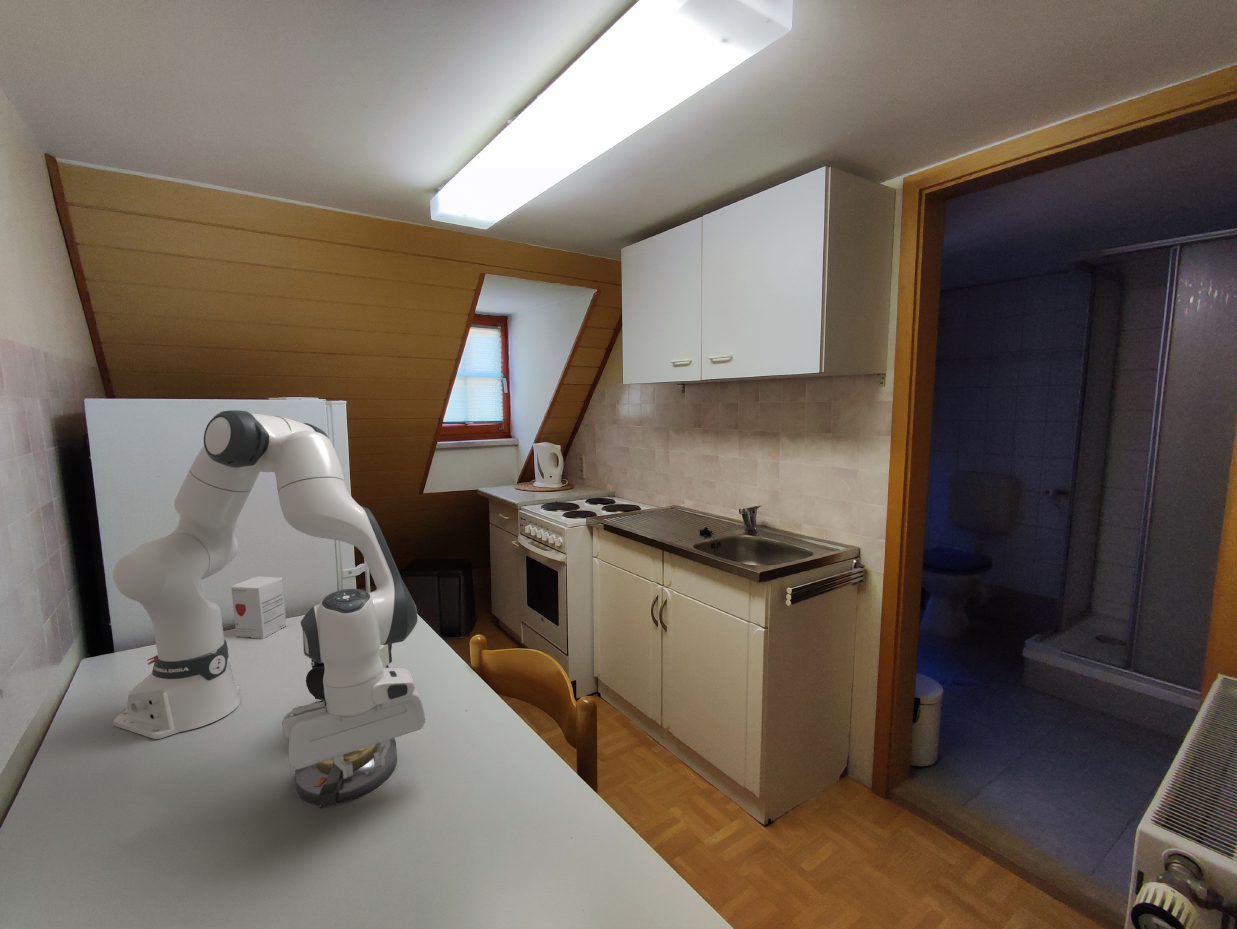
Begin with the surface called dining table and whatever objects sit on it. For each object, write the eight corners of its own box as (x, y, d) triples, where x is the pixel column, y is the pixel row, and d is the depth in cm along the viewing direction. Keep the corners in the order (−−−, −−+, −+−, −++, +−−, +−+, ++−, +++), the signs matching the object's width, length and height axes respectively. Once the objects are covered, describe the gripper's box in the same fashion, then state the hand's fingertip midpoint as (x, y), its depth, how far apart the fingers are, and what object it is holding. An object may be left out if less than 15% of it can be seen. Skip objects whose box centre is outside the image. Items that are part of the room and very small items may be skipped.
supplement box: (234, 637, 154) (229, 586, 152) (260, 624, 162) (255, 575, 160) (263, 639, 152) (258, 587, 150) (287, 626, 161) (283, 576, 159)
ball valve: (347, 741, 106) (340, 654, 104) (309, 736, 108) (301, 650, 105) (401, 691, 123) (396, 616, 121) (368, 688, 125) (362, 614, 123)
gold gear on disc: (273, 799, 91) (268, 745, 90) (338, 739, 106) (334, 693, 105) (361, 810, 88) (356, 754, 87) (414, 747, 104) (411, 699, 102)
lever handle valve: (323, 742, 100) (321, 720, 100) (382, 732, 103) (380, 712, 102) (291, 816, 83) (289, 790, 82) (363, 802, 85) (361, 777, 85)
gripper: (280, 721, 81) (290, 807, 83) (423, 680, 92) (430, 757, 93) (280, 702, 86) (290, 784, 88) (416, 666, 97) (422, 739, 98)
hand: (363, 770), depth 91 cm, fingers open, 3 cm apart
